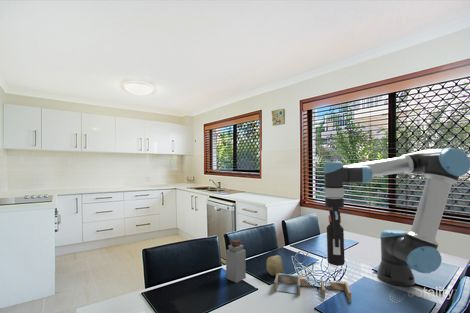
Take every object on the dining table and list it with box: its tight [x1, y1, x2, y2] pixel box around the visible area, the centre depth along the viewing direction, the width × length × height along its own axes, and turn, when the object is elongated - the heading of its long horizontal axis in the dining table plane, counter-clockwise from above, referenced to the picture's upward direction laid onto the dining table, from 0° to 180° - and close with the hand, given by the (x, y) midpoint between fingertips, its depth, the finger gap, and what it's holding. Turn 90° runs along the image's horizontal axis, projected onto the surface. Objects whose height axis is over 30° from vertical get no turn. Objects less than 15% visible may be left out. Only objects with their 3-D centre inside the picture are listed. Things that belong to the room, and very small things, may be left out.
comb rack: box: [273, 273, 352, 303], centre depth 108 cm, size 31×10×4 cm, turn 75°
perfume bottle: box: [225, 239, 247, 284], centre depth 120 cm, size 7×7×18 cm
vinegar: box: [326, 214, 346, 267], centre depth 106 cm, size 7×7×20 cm
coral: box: [265, 254, 285, 277], centre depth 124 cm, size 10×10×10 cm
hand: (335, 251), depth 105 cm, fingers closed on vinegar, 6 cm apart
